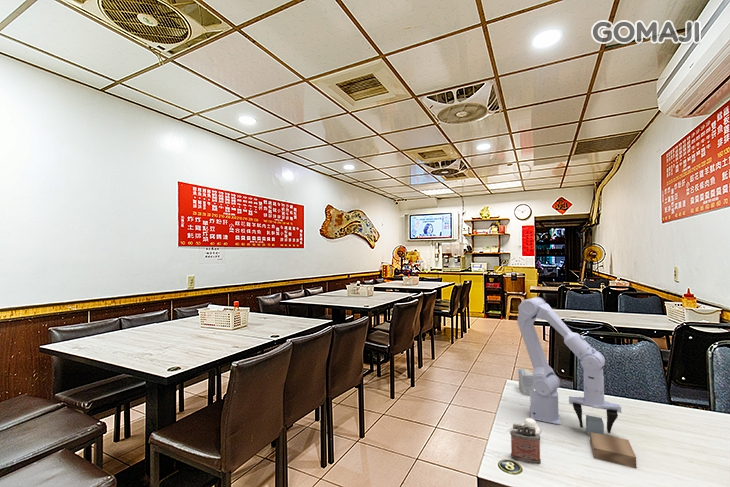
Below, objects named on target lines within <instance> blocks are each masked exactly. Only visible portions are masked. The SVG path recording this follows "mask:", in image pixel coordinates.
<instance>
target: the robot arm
mask: <svg viewBox="0 0 730 487" xmlns="http://www.w3.org/2000/svg"><path fill="white" fill-rule="evenodd" d="M517 309H518V314H517V319H516V322H517V325H518V328H519V331H520V333H521V337H522V339H523V342H524V345H525V348H526V350H527V355H528V356H529V360H530V363H531V365H532V367H533V369H532V376H533V379H534V383H533V386H534V391H530V395H529V396H530V397H529V399H530V400H529V401H530V402H529V404H530V405H529V412H530V418H531V419H534V420H535V421H541V422H545V423H550V424H555V425H561V416H560V413H559V412H560V411H559V392H558V389H559V388H560V385H561V381H560V378H559V376H557V375H556V374H555V371H554V369H553V368H552V367H551V366H550V365H549V364H548V360H547V357H546V355H545V352H544V350H543V349H544V348H543V346H542V343H541V341H540V338H539V335H538V333H537V330H536V328H535V325H534V323H535V321H536V320H537V319H540V320H544V321H546V322H547V323H548V324H549V325H550V326H551V327H553V329H554V330H555V331H557V332H558V333H559V334H560V335H561V336H562V338H563V343H564V344H565V345H566V347H568V349H569V350H570V351H572V353H573V354H574V355H575V356H576V357H577V359H579V360H580V362H579V364H580V365H581V367H582V369H583V372H582V373H583V374H582V375H583V397H581V396H568V404H569V405H572V407H573V410H574V412H575V414H576V417H577V419H578V421H579V428H581V429H583V428H584V427H583V426H584V423H583V409H582V407H583V406H584V407H590V408H593V409H599V410H600V409H601V410H606V411H605V412H606V431H607V433H608V434H611V431H612V427H613V425H614V423H615V421H616V420H617V419H618V416H619V414H621V413H622V405H621V404H617V403H614V402H609V401H605V379H604V378H605V377H604V368H603V367H604V366H605V364H606V359H605V357H604V355H603V354H602V352H600V351H598V350H596V348H595V347H592V346H591V345H590V344H589V343H588V342H587V341H586V340H585V339H586V337H585V336H584V335H583V334H581V335H580V333H578V332H573V331H572V330H571V329H570V328H569V327H568V326H567V324H565V322H564V321H563V320H562V318H561V317H560V316H558V314H557V313H556V312H555V311H554V310H553V308H552V307H551V306H550V304H549V303H547V302H546V300H544V298H542V297H540V296H534V297H532V298H528V299H527V298H526V299H523V300H522V301H521V302H520V303H519V305H518V306H517Z"/></svg>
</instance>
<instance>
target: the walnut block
mask: <svg viewBox="0 0 730 487" xmlns="http://www.w3.org/2000/svg"><path fill="white" fill-rule="evenodd" d="M589 442H590V447H591V451H592V455H593V458H594V459H596V460H601V461H605V462H610V463H614V464H619V465H622V466H625V467H630V468H634V469H637V456H636V454H635V451H634V450H633V447H632V445H631V443H630V441H629V439H626V438H621V437H617V436H612V435H607V434H604V435H603V434H598V433H593V432H590V436H589Z"/></svg>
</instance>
